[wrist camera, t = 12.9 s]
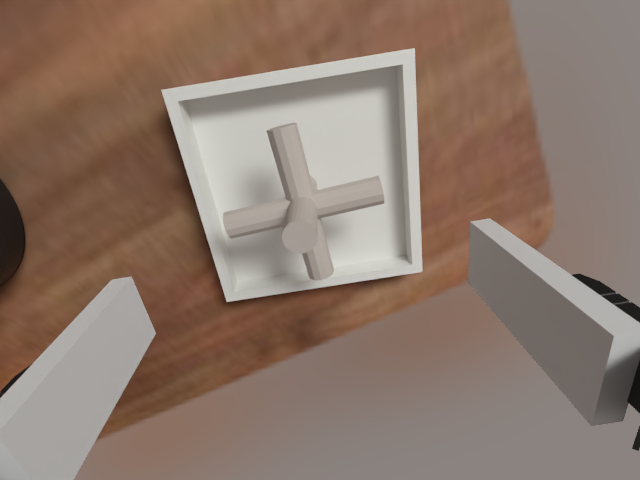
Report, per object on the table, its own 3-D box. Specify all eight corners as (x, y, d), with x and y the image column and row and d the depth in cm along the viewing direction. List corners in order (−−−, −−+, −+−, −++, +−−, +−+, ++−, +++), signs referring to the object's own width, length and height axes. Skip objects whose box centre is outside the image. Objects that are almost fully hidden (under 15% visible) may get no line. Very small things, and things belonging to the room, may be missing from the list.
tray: (232, 286, 31) (226, 302, 29) (174, 89, 25) (161, 90, 22) (413, 257, 31) (422, 271, 29) (403, 51, 24) (414, 48, 22)
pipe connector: (380, 230, 28) (411, 298, 19) (262, 256, 29) (238, 334, 20) (356, 101, 25) (380, 110, 15) (221, 136, 25) (167, 164, 16)
